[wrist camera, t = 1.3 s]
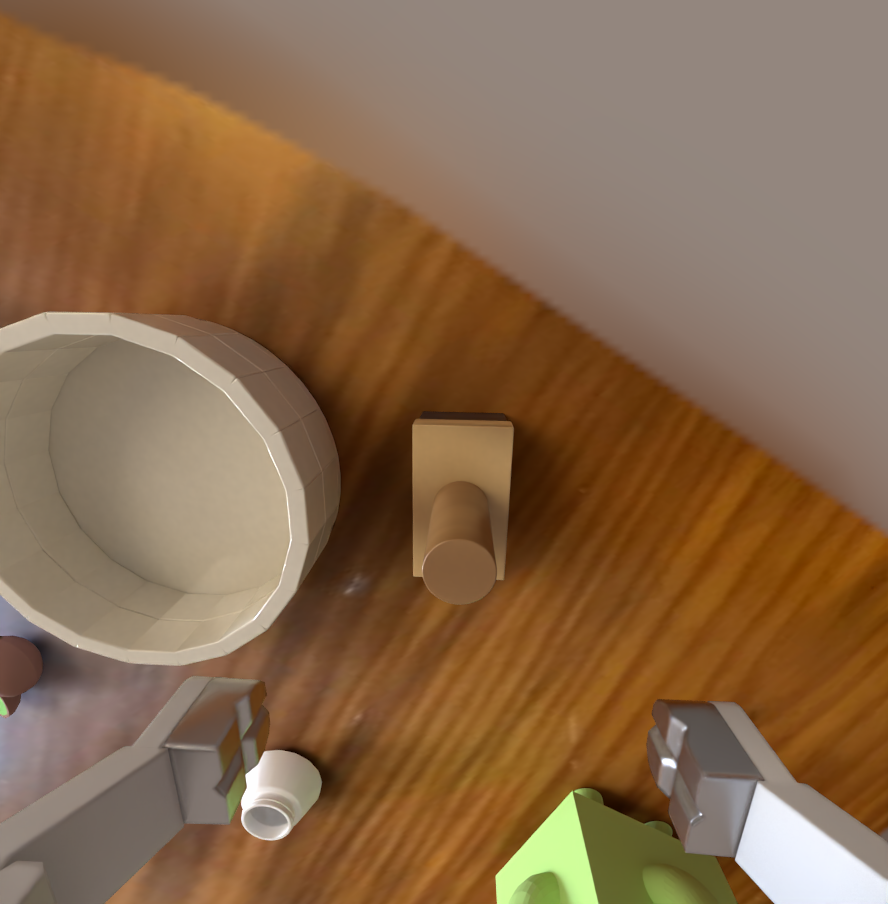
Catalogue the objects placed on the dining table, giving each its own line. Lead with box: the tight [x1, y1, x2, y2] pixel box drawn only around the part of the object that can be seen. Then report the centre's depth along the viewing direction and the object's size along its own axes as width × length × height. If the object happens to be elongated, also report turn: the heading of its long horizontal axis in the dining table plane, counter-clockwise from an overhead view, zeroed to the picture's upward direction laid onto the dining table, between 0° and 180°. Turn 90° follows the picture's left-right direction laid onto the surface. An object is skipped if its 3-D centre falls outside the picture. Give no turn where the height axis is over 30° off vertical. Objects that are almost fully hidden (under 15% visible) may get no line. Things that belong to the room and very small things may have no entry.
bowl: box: [0, 312, 341, 666], centre depth 20 cm, size 16×16×5 cm
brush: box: [412, 411, 514, 605], centre depth 18 cm, size 7×4×9 cm, turn 179°
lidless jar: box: [241, 750, 322, 840], centre depth 27 cm, size 5×3×5 cm
